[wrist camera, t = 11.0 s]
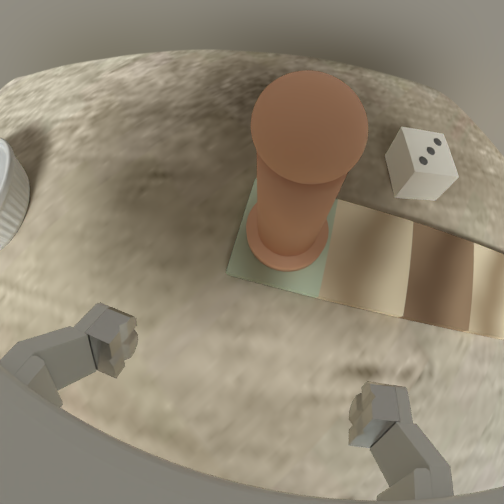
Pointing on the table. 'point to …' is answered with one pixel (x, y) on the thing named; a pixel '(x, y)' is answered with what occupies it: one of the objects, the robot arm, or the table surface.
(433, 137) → the die
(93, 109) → the table surface
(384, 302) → the board
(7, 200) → the ramekin
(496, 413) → the table surface
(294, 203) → the round-topped peg
